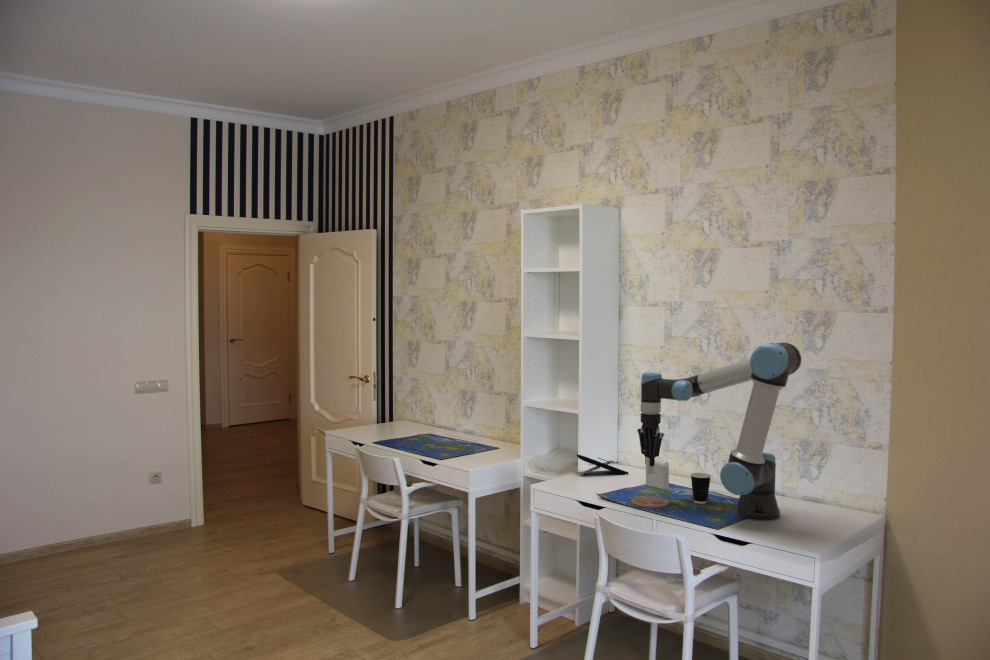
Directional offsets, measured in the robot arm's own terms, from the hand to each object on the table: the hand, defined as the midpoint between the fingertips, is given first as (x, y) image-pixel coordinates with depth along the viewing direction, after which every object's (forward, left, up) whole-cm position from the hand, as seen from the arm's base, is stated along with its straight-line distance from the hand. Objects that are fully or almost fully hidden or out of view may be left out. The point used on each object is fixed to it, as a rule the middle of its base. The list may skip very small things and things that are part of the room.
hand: (649, 473), depth 280 cm
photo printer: (+18, -19, -12) cm, 29 cm away
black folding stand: (+48, -13, -12) cm, 51 cm away
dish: (0, 0, -11) cm, 11 cm away
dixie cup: (-8, -18, -12) cm, 23 cm away
